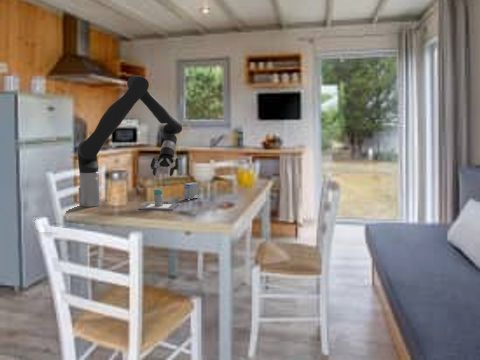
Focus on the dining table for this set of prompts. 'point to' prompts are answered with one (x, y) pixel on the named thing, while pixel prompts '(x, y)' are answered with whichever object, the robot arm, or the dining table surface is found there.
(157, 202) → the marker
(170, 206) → the writing mat
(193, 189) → the medicine box
